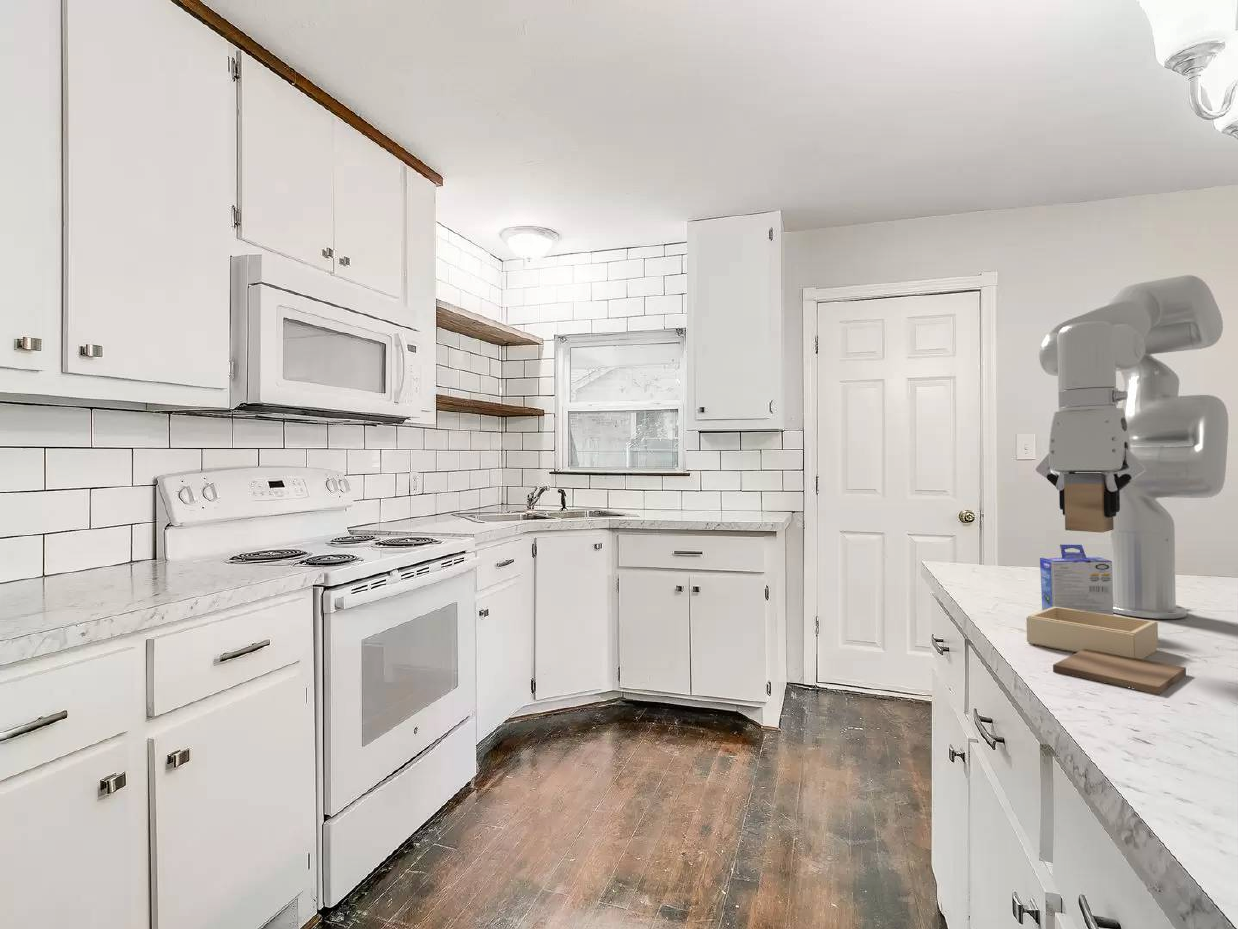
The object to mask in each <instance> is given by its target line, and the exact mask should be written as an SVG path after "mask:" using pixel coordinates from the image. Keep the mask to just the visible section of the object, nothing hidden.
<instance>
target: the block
mask: <svg viewBox="0 0 1238 929" xmlns="http://www.w3.org/2000/svg"><path fill="white" fill-rule="evenodd" d="M1105 491H1107V485H1106V483H1105V480H1104V474H1102V472H1075V473H1071V474H1064V497H1065V515H1064V530H1065V531H1070V532H1071V531H1073V532H1089V533H1105V532H1109V531H1110V532H1111V530H1114V519H1113V517H1106V516H1104V492H1105Z"/></svg>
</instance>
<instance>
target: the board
mask: <svg viewBox="0 0 1238 929" xmlns="http://www.w3.org/2000/svg"><path fill="white" fill-rule="evenodd" d="M1186 667H1187V666H1179V665H1175V664H1169V663H1164V662H1157V661H1154V660H1148V659H1138V658H1131V657H1125V656H1120V655H1115V654H1109V653H1104V652H1099V651H1093V650H1088V649H1083V650H1081V651H1079V652H1077V653H1075V652H1074V653H1073V654H1071V655H1070V656H1068V657H1066V658H1063V659H1062V660H1060V661H1058V662H1056V663H1054V664H1052V668H1053V669H1052V672H1053V673H1058V674H1063V675H1066V676H1070V675H1074V676H1073V677H1075V676H1078V677H1077V678H1080V677H1082V678H1081V679H1084V678H1086V680H1089V679H1090V680H1089V681H1093V682H1094V681H1095V682H1098V681H1101V682H1100V683H1102V682H1105V683H1104V684H1107V683H1109V685H1112V684H1113V686H1116V685H1118V686H1117V687H1121V686H1123V687H1122V688H1125V687H1130V688H1134V689H1137V690H1136V691H1139V690H1141V691H1140V692H1144V693H1149V694H1153V693H1155V694H1154V695H1157V694H1159V695H1160V693H1161V694H1162V693H1164V691H1166V690H1168V689H1169V688H1170V687H1171V686H1173V685H1174V684H1176V683H1177V682H1178V681H1180V680H1181V679H1182V678H1184V677H1185V676H1186V675H1187V668H1186ZM1130 688H1129V689H1130ZM1134 689H1133V690H1134Z"/></svg>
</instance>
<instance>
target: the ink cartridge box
mask: <svg viewBox="0 0 1238 929" xmlns="http://www.w3.org/2000/svg"><path fill="white" fill-rule="evenodd" d="M1059 547H1060V548H1059V549H1060V553H1061V557H1040V558H1039V568H1040V583H1041V584H1040V589H1041V611H1043V610H1046V609H1048V608H1051V607H1061V608H1068V609H1075V610H1082V611H1089V612H1095V613H1102V614H1109V615H1115V614H1114V610H1113V573H1112V560H1108V559H1106V558H1103V557H1099V556H1095V557H1093V556H1091V557H1090V556H1086V553H1085V550H1084V547H1083V545H1082V544H1059ZM1070 549H1075V550H1079V552H1076V551H1075V552H1070V551H1068V552H1067V551H1065V550H1070Z"/></svg>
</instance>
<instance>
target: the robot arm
mask: <svg viewBox="0 0 1238 929" xmlns="http://www.w3.org/2000/svg"><path fill="white" fill-rule="evenodd" d="M1223 324H1224V322H1223V317H1222V313H1221V311H1220V309H1219V306H1218V304H1217V302H1216V300H1215V296H1214V294H1213V293H1212V290H1211V289H1210V287H1209V286H1208V284H1207V283H1206V282H1205V281H1204V280H1203V279H1201V278H1200V277H1198V276H1196V275H1193V274H1189V275H1188V274H1187V275H1181V276H1180V275H1179V276H1173V277H1168V278H1162V279H1156V280H1151V281H1145V282H1140V283H1134V284H1131V285H1128V286H1126V287H1123V288H1122V289H1120V290H1118V291H1117V292H1116V293H1115V294H1114V295H1113V296H1112V297H1110V299H1109V301H1108V302H1106V303H1105V304H1104V306H1101V307H1099V308H1096V309H1094V310H1090V311H1088V312H1086V313H1084V314H1081V315H1078V316H1076V317H1072V318H1071V319H1068V320H1065V321H1063V322H1061V323H1059V324H1058V325H1056V326H1054V327H1053V328H1052V329H1051V330H1050V331H1049V332H1048V333H1047V334H1046V336H1045V337H1044V339H1043V340H1042V342H1041V345H1040V348H1039V355H1038V356H1039V357H1038V358H1039V364H1040V366H1041V368H1042V369H1043V371H1044V372H1045V373H1046V374H1048V375H1050V376H1053V377H1057V383H1058V384H1057V390H1058V391H1057V392H1058V393H1057V394H1058V396H1057V397H1058V411H1054V413H1053V416H1052V420H1051V421H1052V422H1051V425H1050V426H1051V427H1050V433H1049V445H1048V454H1047V455H1046V456H1045V457H1044V458H1043V460H1042V461H1040V463H1039V464H1038V465H1037V466H1036V468H1035V471H1036V472H1037V473H1038V474H1040V475H1041V476H1042V477H1044V478H1045V479H1047V481H1048V482H1050V483H1051V484H1052V485H1053V486H1054V487H1055V489H1056V490H1057V491H1058V492H1059V494H1058V496H1059V503H1058V504H1059V509H1060V510H1062V515H1063V516H1065V497H1064V474H1071V473H1102V474H1104V480H1105V483H1106V485H1107V491H1105V492H1104V516H1106V517H1113V519H1114V530H1110V532H1111V533H1110V534H1111V536H1110V537H1111V540H1110V542H1111V561H1112V573H1113V610H1114V613H1115V614H1119V615H1123V616H1127V617H1133V618H1142V619H1143V618H1146V619H1156V620H1157V619H1159V620H1160V619H1161V620H1163V619H1164V620H1170V619H1171V620H1174V619H1175V620H1177V619H1182V618H1185V617H1187V615H1188V614H1187V609H1186V608H1184V607H1183V606H1180V605H1176V604H1177V603H1176V602H1177V600H1176V599H1177V597H1176V596H1177V594H1176V546H1175V544H1176V543H1175V537H1176V536H1175V534H1176V533H1175V531H1176V529H1175V522H1174V519H1173V517H1172V515H1171V514H1170V512H1169V511H1168V510H1167V509H1166V508H1165V506H1163V505H1162V504H1161V503H1160V502H1159V500H1157V499H1159V498H1161V499H1162V498H1163V499H1164V498H1172V499H1173V498H1174V499H1175V498H1179V499H1180V498H1183V499H1208V498H1213V497H1216V496H1217V495H1218V494H1220V493H1221V492H1222V490H1223V488H1224V484H1225V482H1226V471H1227V470H1226V468H1227V459H1228V458H1227V457H1228V456H1227V455H1228V454H1227V453H1228V441H1229V413H1228V410H1227V407H1226V405H1225V402H1224V401H1223V400H1222V399H1221V398H1219V397H1217V396H1215V395H1210V394H1195V395H1193V394H1192V395H1179V390H1180V389H1179V388H1180V378H1179V376H1178V375H1177V373H1176V372H1174V370H1172V369H1171V368H1170V366H1168V365H1167V364H1166V363H1164V362H1162V361H1161V360H1159V359H1157V358H1155V357H1154V356H1153V355H1156V354H1165V353H1173V352H1174V353H1175V352H1185V351H1190V350H1191V351H1192V350H1201V349H1206V348H1210V347H1211V346H1215V344H1217V342H1218V341H1219V340H1221V337H1222V334H1223V328H1224V326H1223ZM1118 371H1119V372H1120V373H1121V375H1122V378H1123V381H1124V391H1121V390H1119V389H1118V388H1117V372H1118ZM1121 401H1122V406H1121V407H1117V406H1118V405H1119V402H1121ZM1131 445H1132V446H1134V447H1131ZM1056 472H1057V473H1056ZM1058 472H1059V474H1058Z"/></svg>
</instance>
